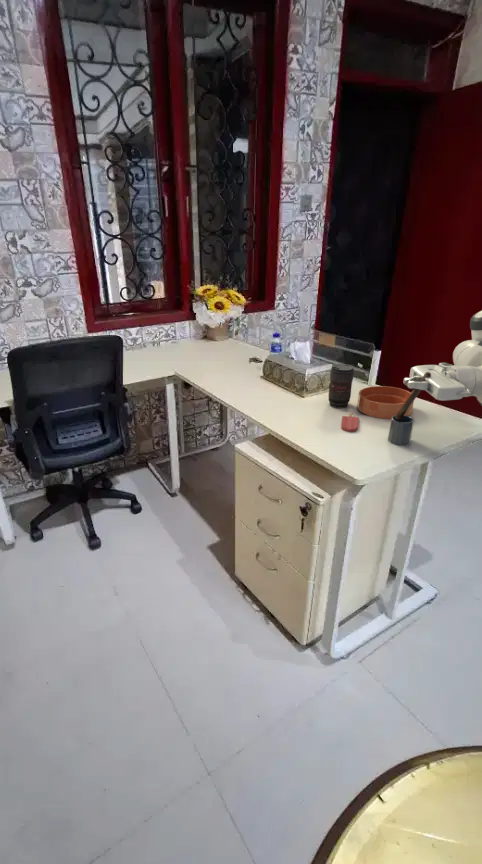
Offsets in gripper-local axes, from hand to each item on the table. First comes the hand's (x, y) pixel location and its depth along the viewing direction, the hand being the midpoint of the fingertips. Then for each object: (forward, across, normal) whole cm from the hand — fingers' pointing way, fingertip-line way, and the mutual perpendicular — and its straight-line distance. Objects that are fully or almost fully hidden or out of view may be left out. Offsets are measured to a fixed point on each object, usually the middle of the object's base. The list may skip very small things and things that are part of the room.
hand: (406, 383), depth 119 cm
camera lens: (+10, +32, -19) cm, 38 cm away
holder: (-1, 0, -19) cm, 19 cm away
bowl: (-5, +26, -19) cm, 32 cm away
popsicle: (+10, +14, -19) cm, 26 cm away
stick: (+1, 0, -11) cm, 11 cm away
